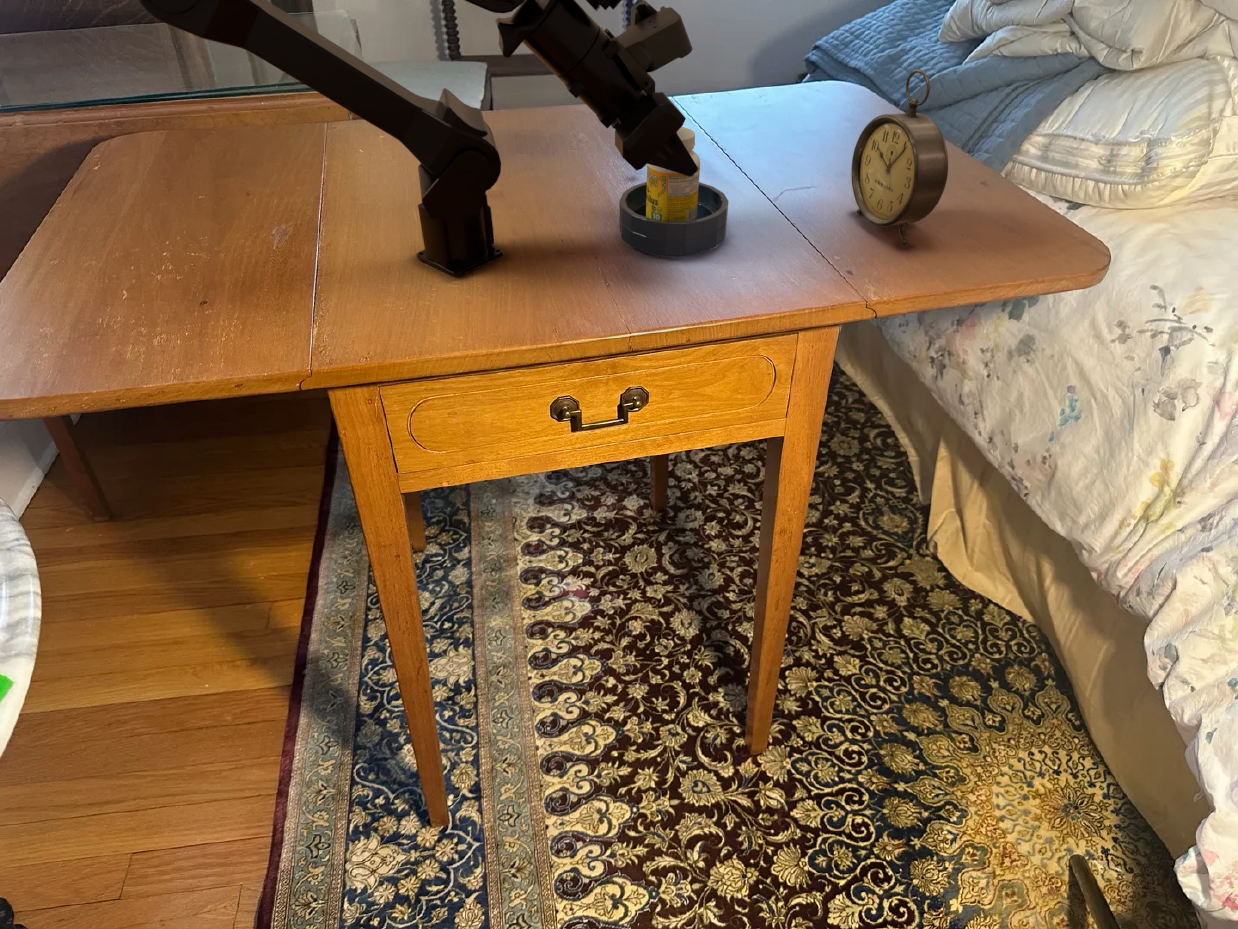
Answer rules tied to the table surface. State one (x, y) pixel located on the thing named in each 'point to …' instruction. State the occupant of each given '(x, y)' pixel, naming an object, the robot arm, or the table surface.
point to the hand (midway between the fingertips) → (686, 161)
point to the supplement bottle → (673, 188)
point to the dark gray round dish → (673, 224)
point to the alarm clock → (899, 167)
